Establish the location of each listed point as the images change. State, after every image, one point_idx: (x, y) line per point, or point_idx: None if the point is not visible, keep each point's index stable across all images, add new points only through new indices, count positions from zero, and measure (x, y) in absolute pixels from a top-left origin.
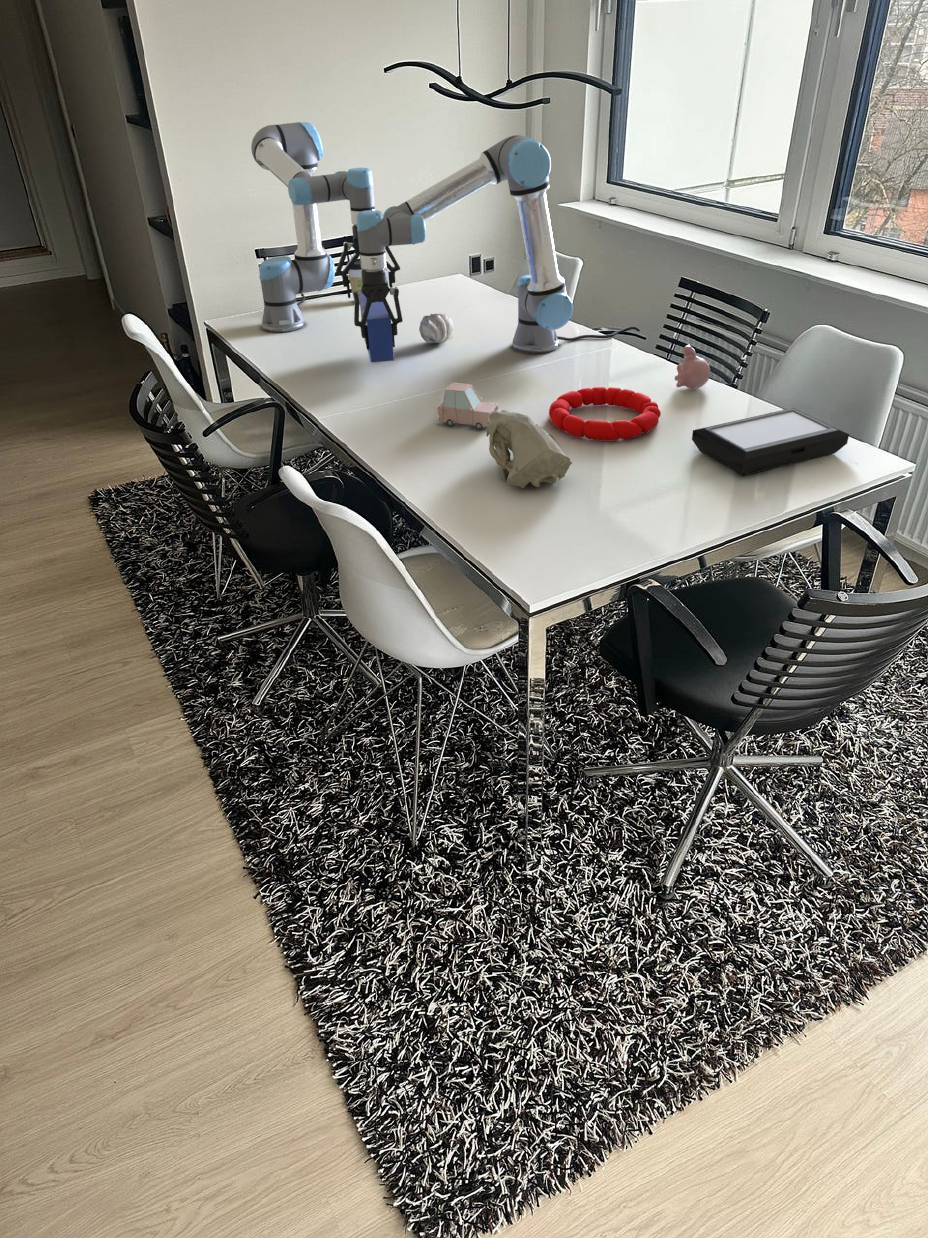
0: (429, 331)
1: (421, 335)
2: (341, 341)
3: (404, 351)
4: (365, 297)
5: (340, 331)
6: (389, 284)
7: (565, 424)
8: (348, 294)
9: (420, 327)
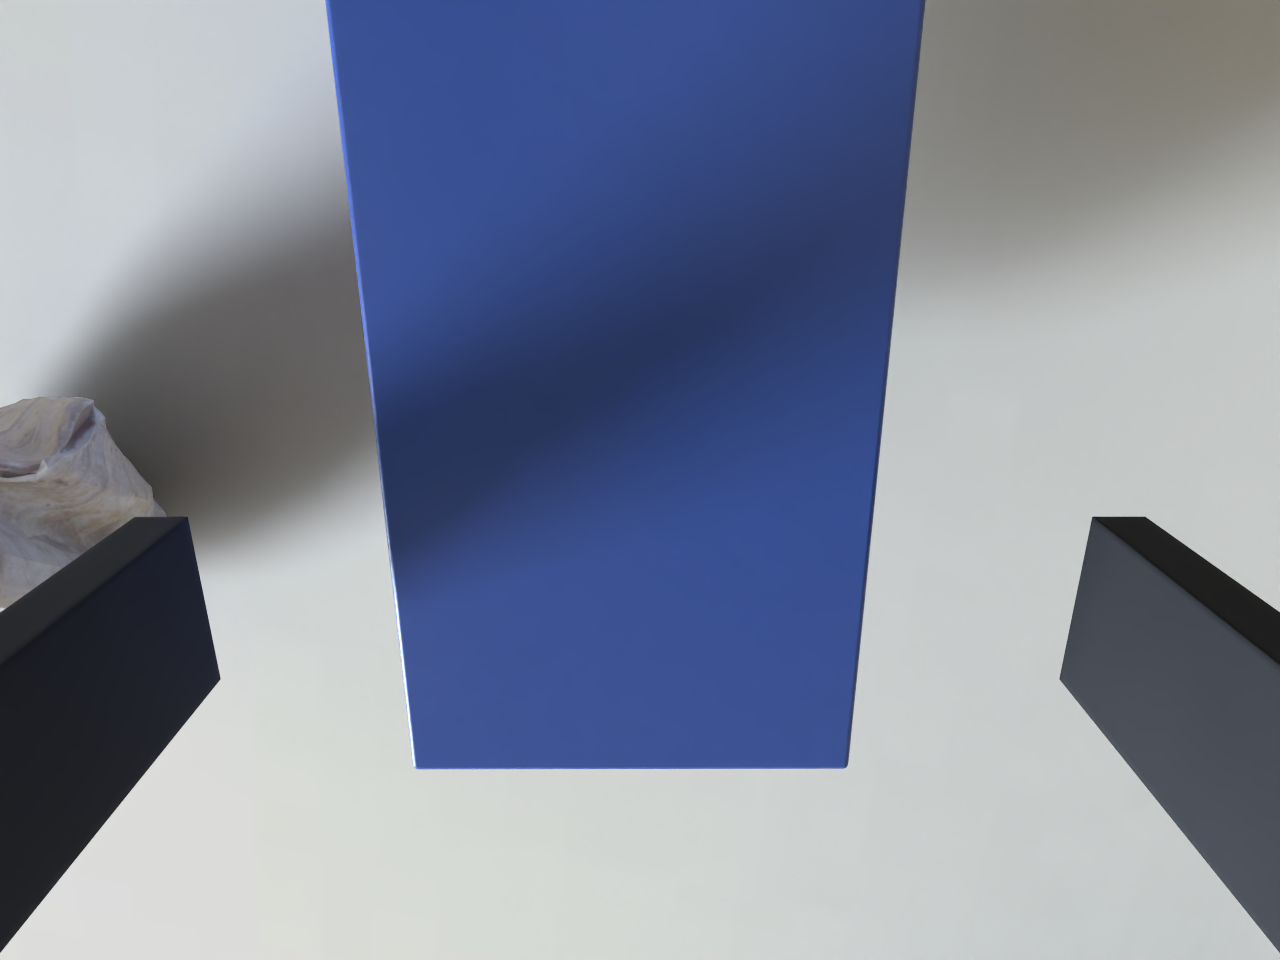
0: (13, 408)
1: None
2: (878, 745)
3: None
4: (759, 495)
5: (846, 950)
6: (88, 717)
7: None
8: (1177, 548)
9: (96, 473)
